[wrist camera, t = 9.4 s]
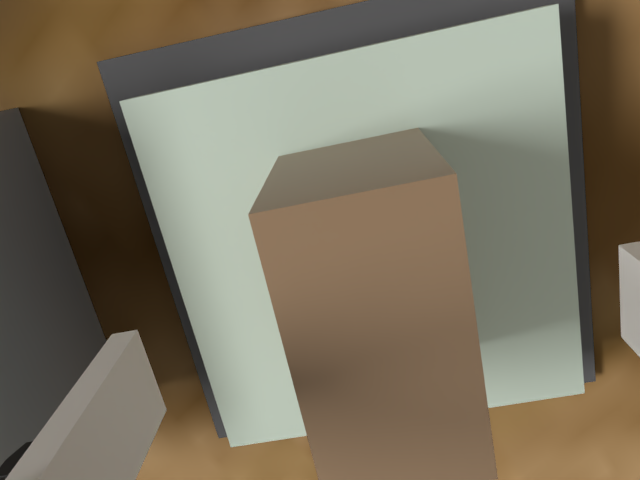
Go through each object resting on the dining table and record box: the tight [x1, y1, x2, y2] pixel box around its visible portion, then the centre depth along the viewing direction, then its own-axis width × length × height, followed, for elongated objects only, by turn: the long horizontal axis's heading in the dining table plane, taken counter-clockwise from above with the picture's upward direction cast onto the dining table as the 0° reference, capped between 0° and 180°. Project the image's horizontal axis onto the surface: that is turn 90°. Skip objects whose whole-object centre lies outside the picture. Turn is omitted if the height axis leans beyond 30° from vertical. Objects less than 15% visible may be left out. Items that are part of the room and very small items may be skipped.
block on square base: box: [119, 4, 585, 480], centre depth 19 cm, size 15×15×10 cm
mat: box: [97, 0, 596, 438], centre depth 24 cm, size 18×18×1 cm
